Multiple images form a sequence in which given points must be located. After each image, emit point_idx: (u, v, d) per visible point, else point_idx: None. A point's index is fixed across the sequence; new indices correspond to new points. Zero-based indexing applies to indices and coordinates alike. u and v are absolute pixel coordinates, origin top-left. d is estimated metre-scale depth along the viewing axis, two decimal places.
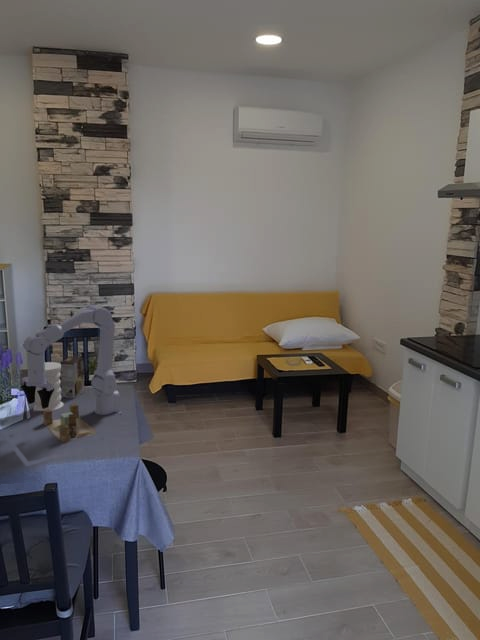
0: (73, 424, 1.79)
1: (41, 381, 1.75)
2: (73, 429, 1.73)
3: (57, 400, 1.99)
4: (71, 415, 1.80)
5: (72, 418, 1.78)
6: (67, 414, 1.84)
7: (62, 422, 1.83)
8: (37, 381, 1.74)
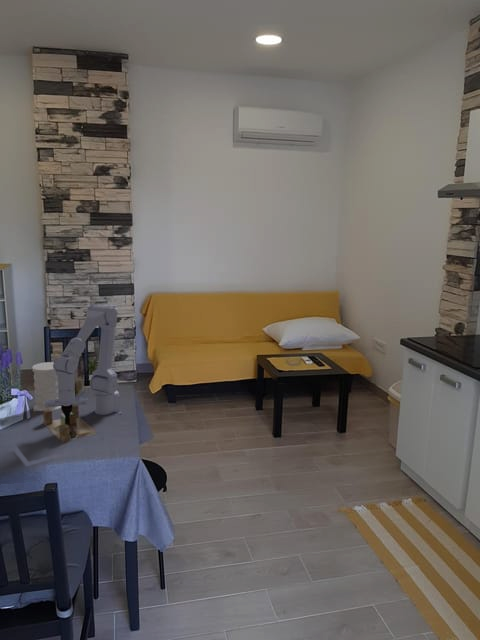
0: (73, 424, 1.79)
1: (75, 398, 1.78)
2: (73, 429, 1.73)
3: None
4: (71, 415, 1.80)
5: (72, 418, 1.79)
6: None
7: (62, 422, 1.83)
8: (73, 399, 1.77)
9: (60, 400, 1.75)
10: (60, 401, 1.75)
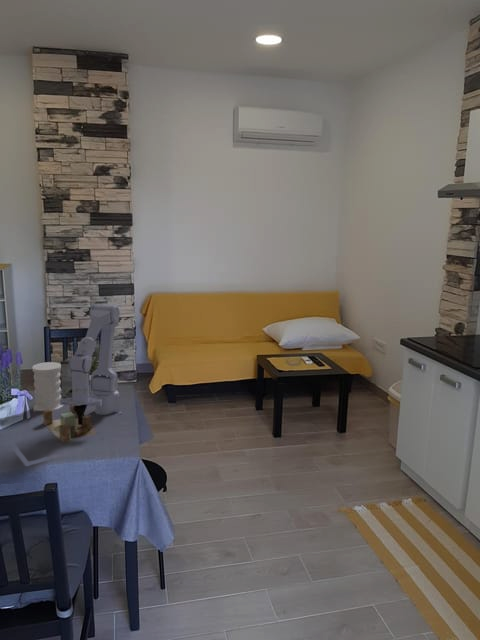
0: (85, 425, 1.79)
1: (88, 398, 1.78)
2: (73, 429, 1.73)
3: (57, 400, 1.99)
4: (86, 416, 1.79)
5: (84, 419, 1.78)
6: (67, 414, 1.84)
7: (62, 422, 1.83)
8: (86, 399, 1.77)
9: (73, 399, 1.77)
10: (73, 400, 1.77)
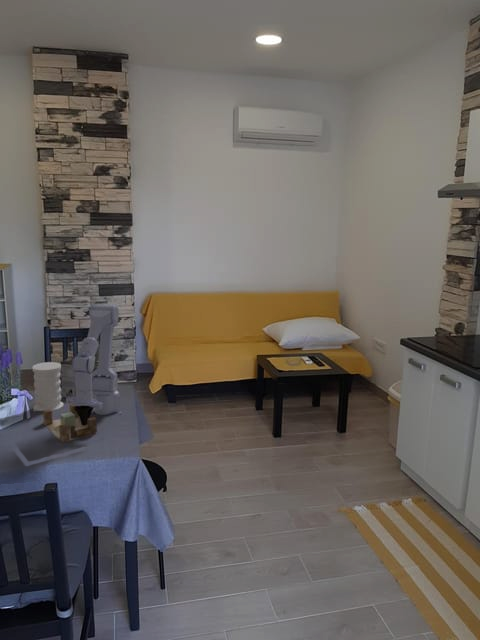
0: (89, 427, 1.77)
1: (90, 400, 1.77)
2: (73, 429, 1.73)
3: (57, 400, 1.99)
4: (91, 418, 1.78)
5: (88, 421, 1.77)
6: (67, 414, 1.84)
7: (62, 422, 1.83)
8: (87, 400, 1.76)
9: (76, 399, 1.77)
10: (75, 400, 1.77)
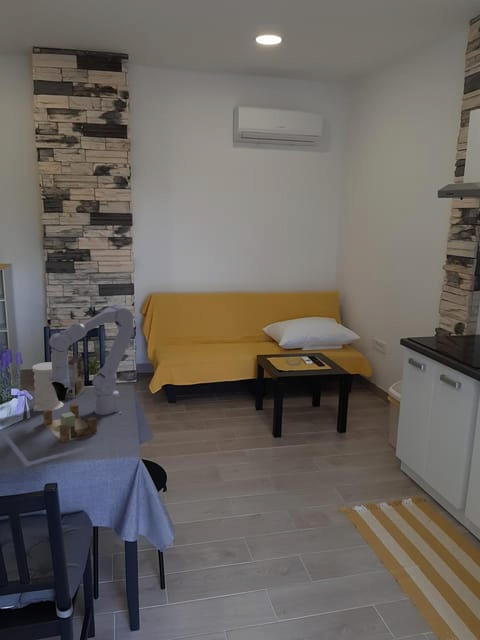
0: (89, 427, 1.77)
1: (62, 377, 1.83)
2: (73, 429, 1.73)
3: (57, 400, 1.99)
4: (91, 418, 1.78)
5: (88, 421, 1.77)
6: (67, 414, 1.84)
7: (62, 422, 1.83)
8: (58, 377, 1.83)
9: None
10: None
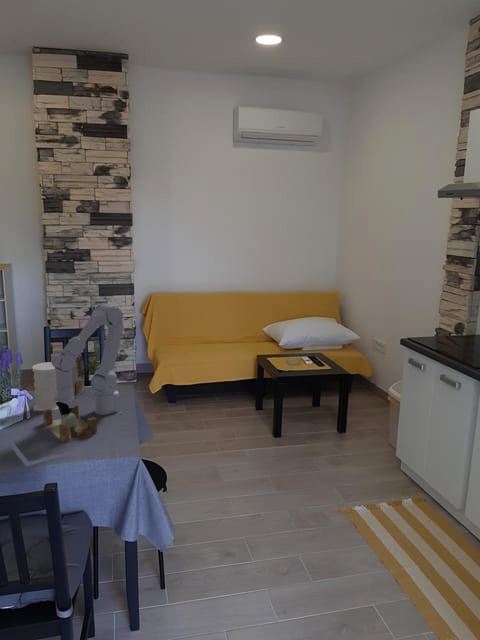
0: (89, 427, 1.77)
1: (66, 398, 1.82)
2: (73, 429, 1.73)
3: None
4: (91, 418, 1.78)
5: (88, 421, 1.77)
6: (68, 415, 1.83)
7: (63, 423, 1.82)
8: (62, 397, 1.81)
9: None
10: None
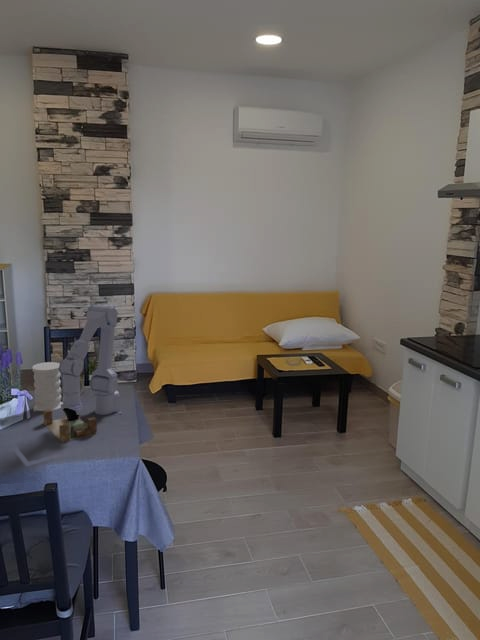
0: (89, 427, 1.77)
1: (74, 404, 1.76)
2: (73, 429, 1.73)
3: (57, 400, 1.99)
4: (91, 418, 1.78)
5: (88, 421, 1.77)
6: (76, 421, 1.77)
7: (70, 430, 1.77)
8: (70, 403, 1.76)
9: None
10: None
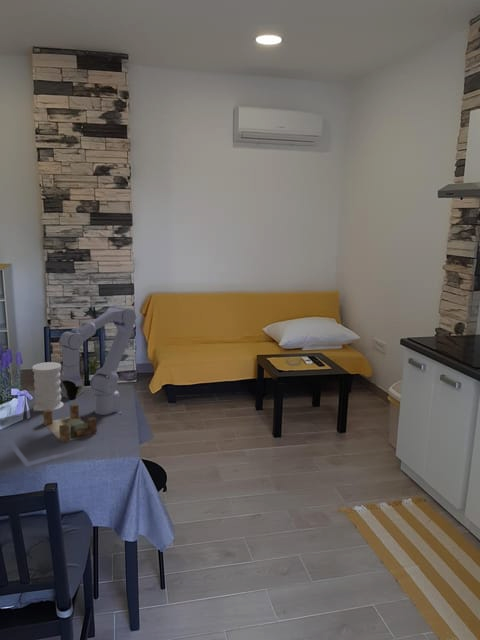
0: (89, 427, 1.77)
1: (73, 376, 1.80)
2: (73, 429, 1.73)
3: (57, 400, 1.99)
4: (91, 418, 1.78)
5: (88, 421, 1.77)
6: (76, 421, 1.77)
7: (70, 430, 1.77)
8: (69, 376, 1.80)
9: None
10: None
